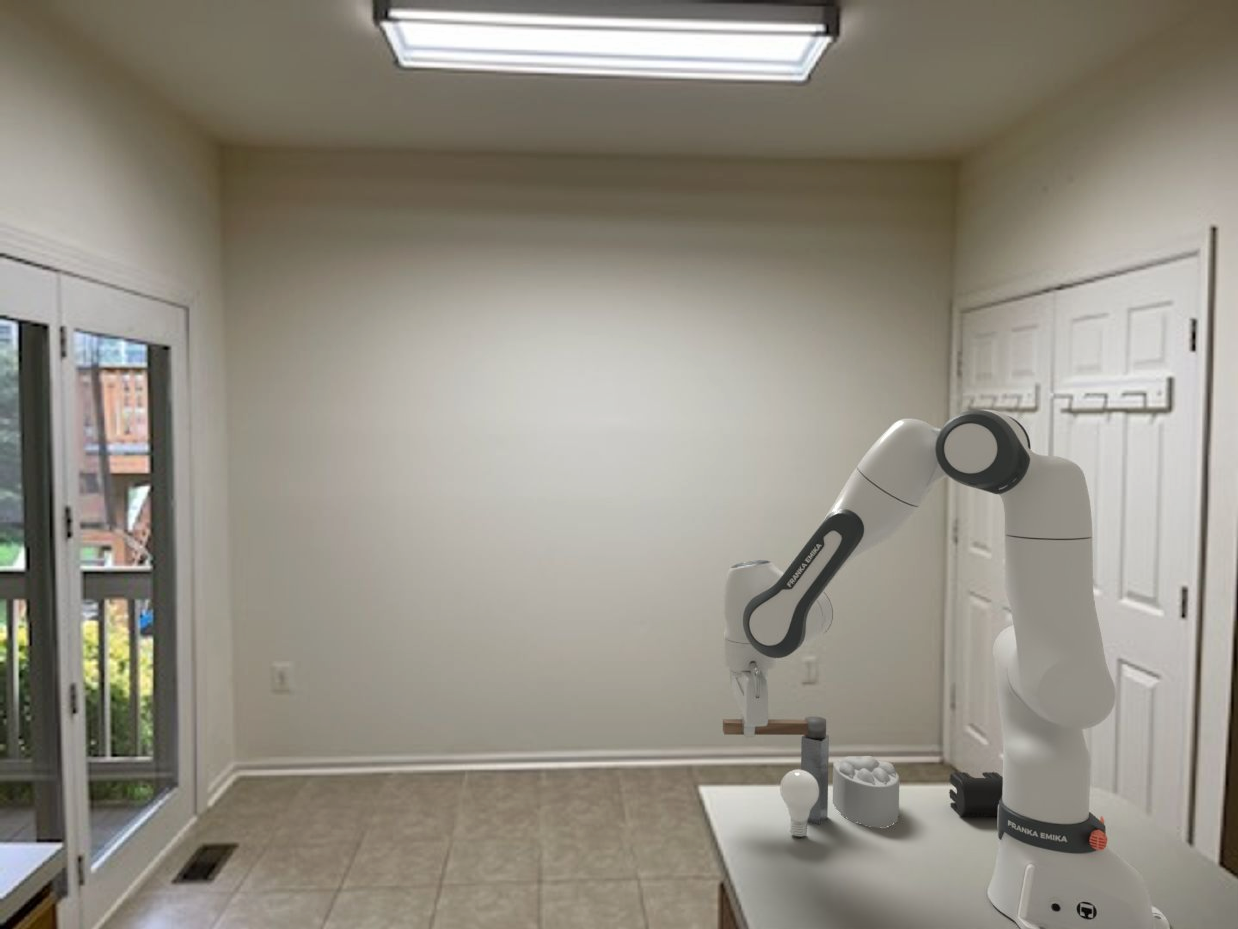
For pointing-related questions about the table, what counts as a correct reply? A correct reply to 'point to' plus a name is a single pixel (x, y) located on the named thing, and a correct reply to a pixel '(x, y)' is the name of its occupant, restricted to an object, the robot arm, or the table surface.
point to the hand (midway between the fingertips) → (748, 735)
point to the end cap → (976, 794)
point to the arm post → (817, 772)
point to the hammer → (781, 727)
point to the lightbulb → (799, 798)
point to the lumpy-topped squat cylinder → (866, 790)
